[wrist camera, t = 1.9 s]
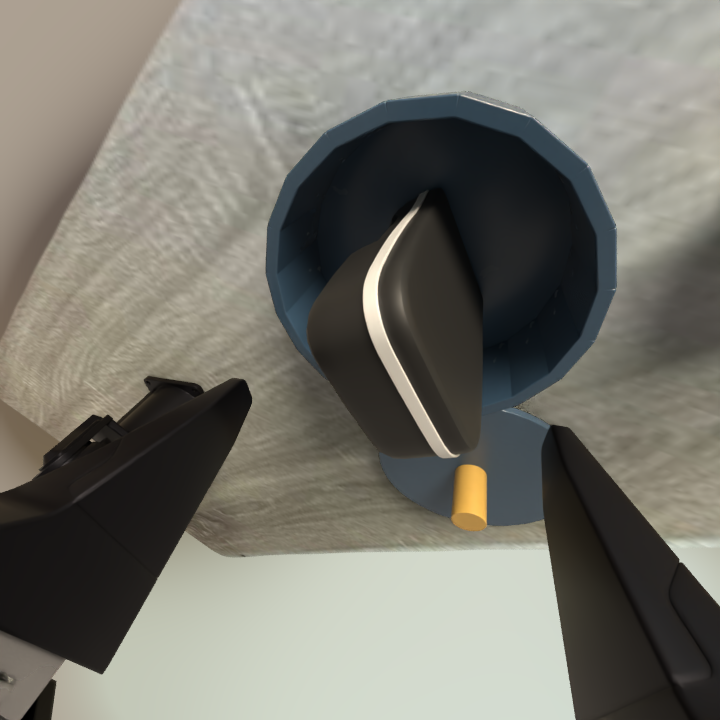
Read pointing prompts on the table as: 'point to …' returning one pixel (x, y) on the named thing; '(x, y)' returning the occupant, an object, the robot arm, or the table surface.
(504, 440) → the tin lid
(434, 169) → the tin
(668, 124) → the table surface
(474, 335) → the battery charger
